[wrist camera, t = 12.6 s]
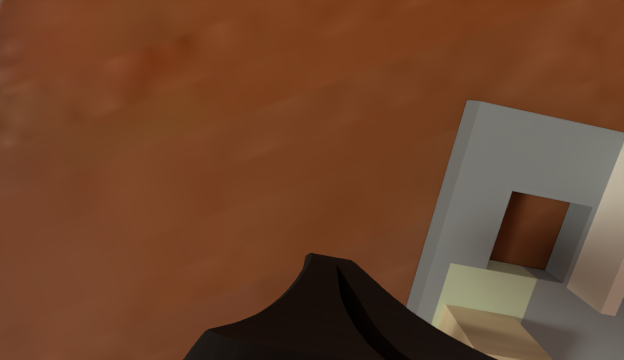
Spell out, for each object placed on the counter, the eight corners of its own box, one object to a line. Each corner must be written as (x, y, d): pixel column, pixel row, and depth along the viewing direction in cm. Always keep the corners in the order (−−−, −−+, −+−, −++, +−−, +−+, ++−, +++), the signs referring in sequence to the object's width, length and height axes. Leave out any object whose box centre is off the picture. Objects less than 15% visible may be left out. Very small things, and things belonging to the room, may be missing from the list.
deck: (644, 392, 25) (666, 412, 24) (393, 351, 24) (399, 369, 23) (754, 162, 22) (788, 168, 20) (467, 100, 21) (480, 101, 19)
